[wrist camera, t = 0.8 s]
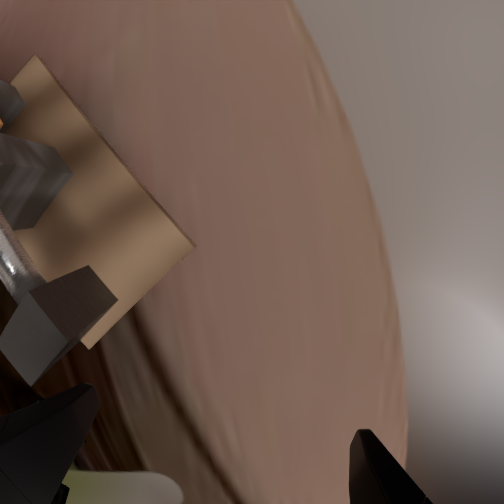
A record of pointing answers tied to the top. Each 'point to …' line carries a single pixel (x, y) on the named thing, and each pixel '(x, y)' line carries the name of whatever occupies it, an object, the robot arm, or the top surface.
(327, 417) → the top surface
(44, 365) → the shaft
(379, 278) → the top surface
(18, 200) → the shaft stand
